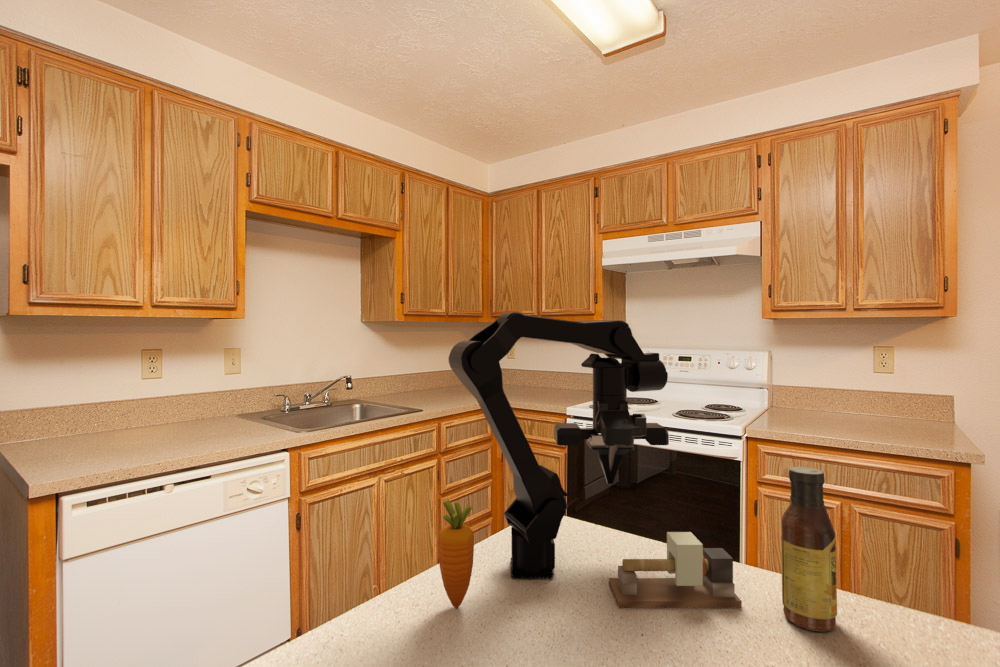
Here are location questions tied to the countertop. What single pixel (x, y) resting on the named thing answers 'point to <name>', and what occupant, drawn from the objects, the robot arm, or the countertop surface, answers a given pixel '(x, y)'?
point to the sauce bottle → (808, 554)
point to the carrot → (456, 553)
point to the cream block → (686, 558)
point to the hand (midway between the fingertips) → (609, 483)
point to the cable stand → (666, 592)
